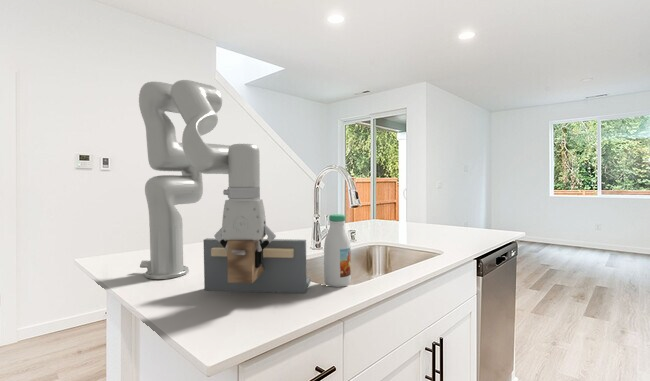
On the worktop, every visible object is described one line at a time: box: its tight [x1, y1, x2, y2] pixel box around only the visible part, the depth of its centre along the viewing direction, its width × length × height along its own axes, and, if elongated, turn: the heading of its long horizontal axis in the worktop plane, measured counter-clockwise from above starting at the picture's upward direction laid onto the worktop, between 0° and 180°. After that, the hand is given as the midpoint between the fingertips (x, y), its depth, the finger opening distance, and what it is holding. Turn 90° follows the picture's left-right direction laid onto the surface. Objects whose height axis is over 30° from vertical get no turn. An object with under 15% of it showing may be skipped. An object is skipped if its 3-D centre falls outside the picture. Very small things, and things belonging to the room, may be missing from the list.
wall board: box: [203, 237, 312, 294], centre depth 95 cm, size 28×12×14 cm, turn 84°
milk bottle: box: [323, 213, 352, 288], centre depth 97 cm, size 8×8×20 cm
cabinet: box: [227, 237, 265, 283], centre depth 85 cm, size 6×11×10 cm, turn 174°
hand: (245, 265), depth 84 cm, fingers closed on cabinet, 6 cm apart
